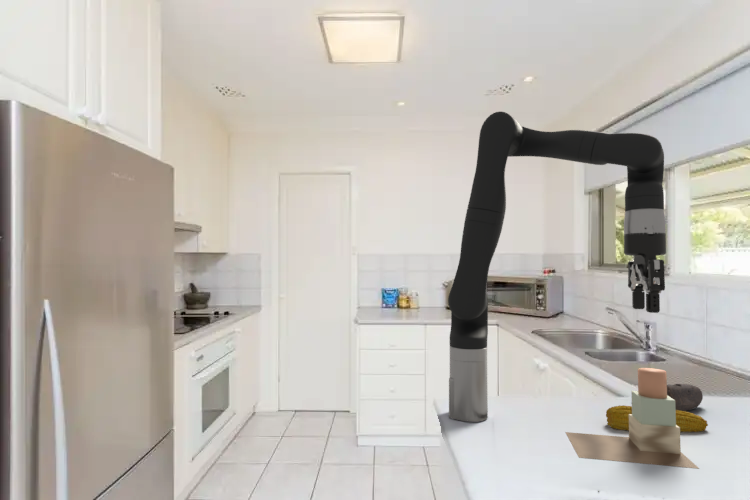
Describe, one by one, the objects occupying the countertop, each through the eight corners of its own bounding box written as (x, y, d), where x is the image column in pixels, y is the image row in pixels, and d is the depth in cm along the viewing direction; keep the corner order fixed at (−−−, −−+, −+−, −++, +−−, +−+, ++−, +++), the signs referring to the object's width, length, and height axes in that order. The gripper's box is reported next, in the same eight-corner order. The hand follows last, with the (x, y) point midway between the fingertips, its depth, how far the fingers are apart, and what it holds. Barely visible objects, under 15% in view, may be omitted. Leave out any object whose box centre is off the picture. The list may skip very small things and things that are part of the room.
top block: (641, 424, 90) (641, 398, 90) (631, 414, 96) (631, 390, 96) (675, 426, 88) (675, 400, 89) (663, 417, 94) (663, 392, 95)
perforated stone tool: (692, 404, 125) (691, 378, 125) (712, 409, 120) (711, 383, 120) (654, 410, 119) (653, 383, 120) (673, 416, 114) (673, 388, 115)
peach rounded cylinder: (643, 397, 91) (642, 372, 91) (634, 391, 95) (634, 367, 96) (671, 399, 89) (670, 373, 90) (661, 393, 94) (660, 368, 94)
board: (579, 462, 86) (578, 457, 86) (565, 436, 99) (565, 432, 99) (699, 474, 81) (699, 468, 81) (668, 445, 95) (667, 440, 95)
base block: (640, 450, 89) (639, 424, 89) (629, 437, 96) (628, 413, 96) (680, 454, 88) (679, 427, 88) (666, 440, 94) (665, 416, 95)
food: (614, 436, 100) (614, 409, 101) (603, 427, 106) (602, 402, 106) (713, 438, 99) (712, 411, 100) (696, 429, 105) (696, 403, 105)
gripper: (615, 235, 103) (615, 307, 102) (635, 229, 89) (636, 313, 88) (652, 235, 101) (653, 308, 100) (678, 229, 87) (680, 314, 86)
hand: (645, 310), depth 94 cm, fingers open, 8 cm apart
